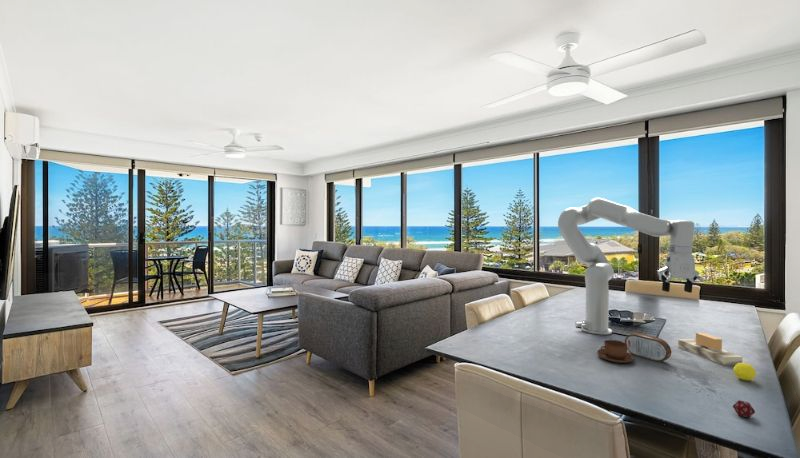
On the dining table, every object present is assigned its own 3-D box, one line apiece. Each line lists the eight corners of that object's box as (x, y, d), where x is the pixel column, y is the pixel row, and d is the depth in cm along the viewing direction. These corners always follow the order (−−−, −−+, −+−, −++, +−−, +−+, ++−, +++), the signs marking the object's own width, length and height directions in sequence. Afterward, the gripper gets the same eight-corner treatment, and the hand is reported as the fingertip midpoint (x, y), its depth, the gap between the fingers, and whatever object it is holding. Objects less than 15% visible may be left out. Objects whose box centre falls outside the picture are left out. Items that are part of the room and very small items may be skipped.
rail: (742, 365, 134) (742, 356, 134) (724, 365, 134) (724, 357, 134) (693, 346, 154) (694, 339, 154) (678, 346, 154) (678, 339, 154)
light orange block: (721, 359, 140) (722, 339, 140) (714, 359, 140) (714, 339, 140) (702, 351, 148) (702, 332, 148) (695, 351, 148) (695, 332, 148)
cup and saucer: (621, 368, 131) (621, 350, 131) (590, 356, 142) (590, 340, 142) (641, 362, 137) (641, 345, 136) (609, 352, 147) (610, 336, 147)
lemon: (754, 385, 118) (754, 368, 118) (731, 379, 122) (731, 363, 122) (757, 379, 122) (757, 363, 122) (735, 374, 126) (735, 358, 126)
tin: (671, 363, 136) (672, 340, 135) (667, 365, 134) (668, 341, 134) (627, 351, 148) (627, 330, 148) (623, 352, 146) (623, 331, 146)
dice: (755, 422, 96) (755, 406, 96) (732, 416, 99) (732, 401, 99) (755, 416, 98) (755, 401, 98) (732, 410, 101) (732, 396, 101)
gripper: (667, 250, 149) (663, 293, 150) (708, 252, 150) (704, 294, 151) (653, 248, 157) (650, 288, 158) (692, 250, 158) (688, 290, 159)
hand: (676, 291), depth 154 cm, fingers open, 9 cm apart
